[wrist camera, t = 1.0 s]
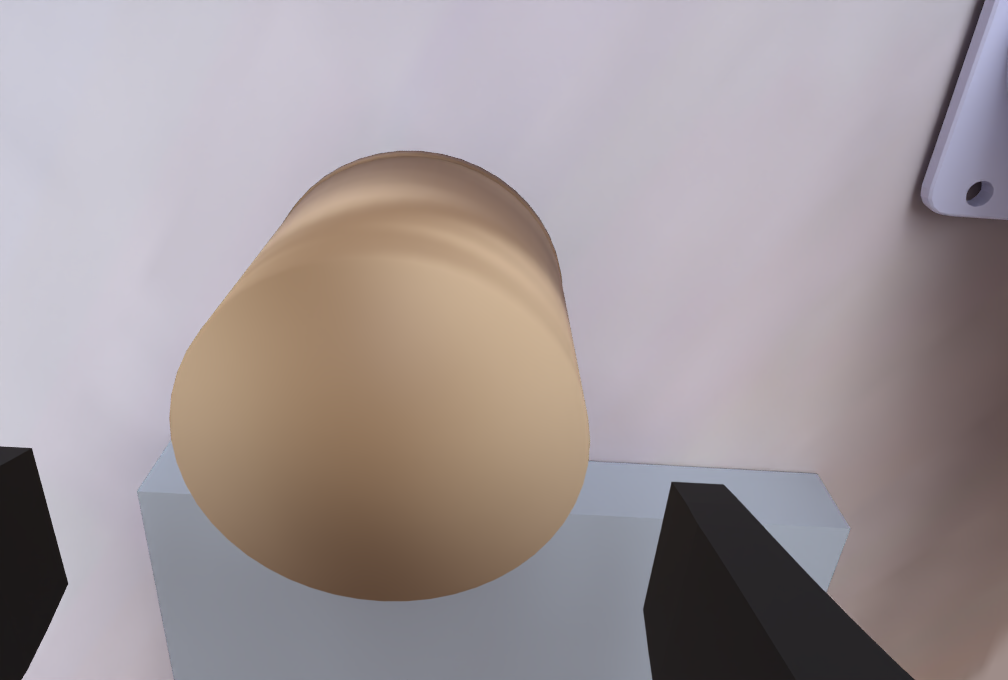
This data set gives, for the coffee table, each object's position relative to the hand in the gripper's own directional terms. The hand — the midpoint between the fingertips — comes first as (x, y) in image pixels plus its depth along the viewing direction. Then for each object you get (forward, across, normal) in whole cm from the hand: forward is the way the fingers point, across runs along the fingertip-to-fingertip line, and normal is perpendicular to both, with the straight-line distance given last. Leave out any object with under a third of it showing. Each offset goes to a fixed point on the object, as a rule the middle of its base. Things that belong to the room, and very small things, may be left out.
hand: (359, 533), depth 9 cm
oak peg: (+8, 0, 0) cm, 8 cm away
